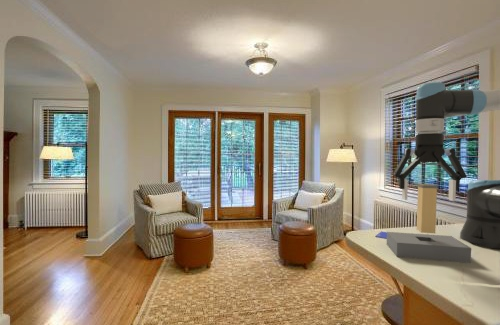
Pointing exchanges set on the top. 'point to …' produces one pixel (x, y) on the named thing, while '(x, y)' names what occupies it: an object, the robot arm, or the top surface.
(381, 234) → the hard drive
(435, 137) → the robot arm
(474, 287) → the top surface
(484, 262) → the top surface
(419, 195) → the plug
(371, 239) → the top surface
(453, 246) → the socket block
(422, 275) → the top surface
